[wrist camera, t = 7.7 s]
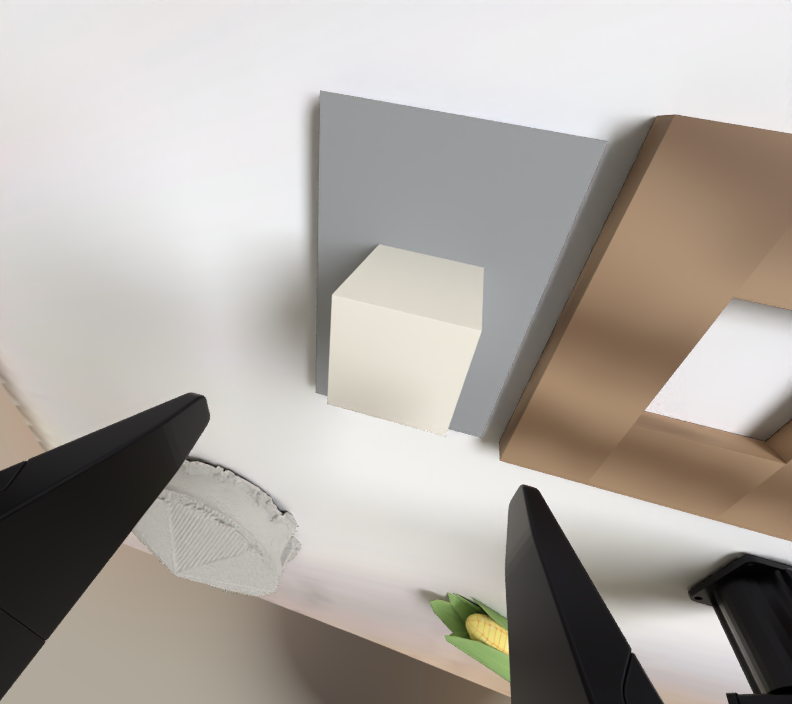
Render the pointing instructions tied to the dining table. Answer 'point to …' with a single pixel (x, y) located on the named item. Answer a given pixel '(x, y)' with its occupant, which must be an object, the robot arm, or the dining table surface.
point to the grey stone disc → (219, 531)
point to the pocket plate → (668, 329)
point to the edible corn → (476, 632)
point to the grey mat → (448, 216)
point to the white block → (404, 337)
